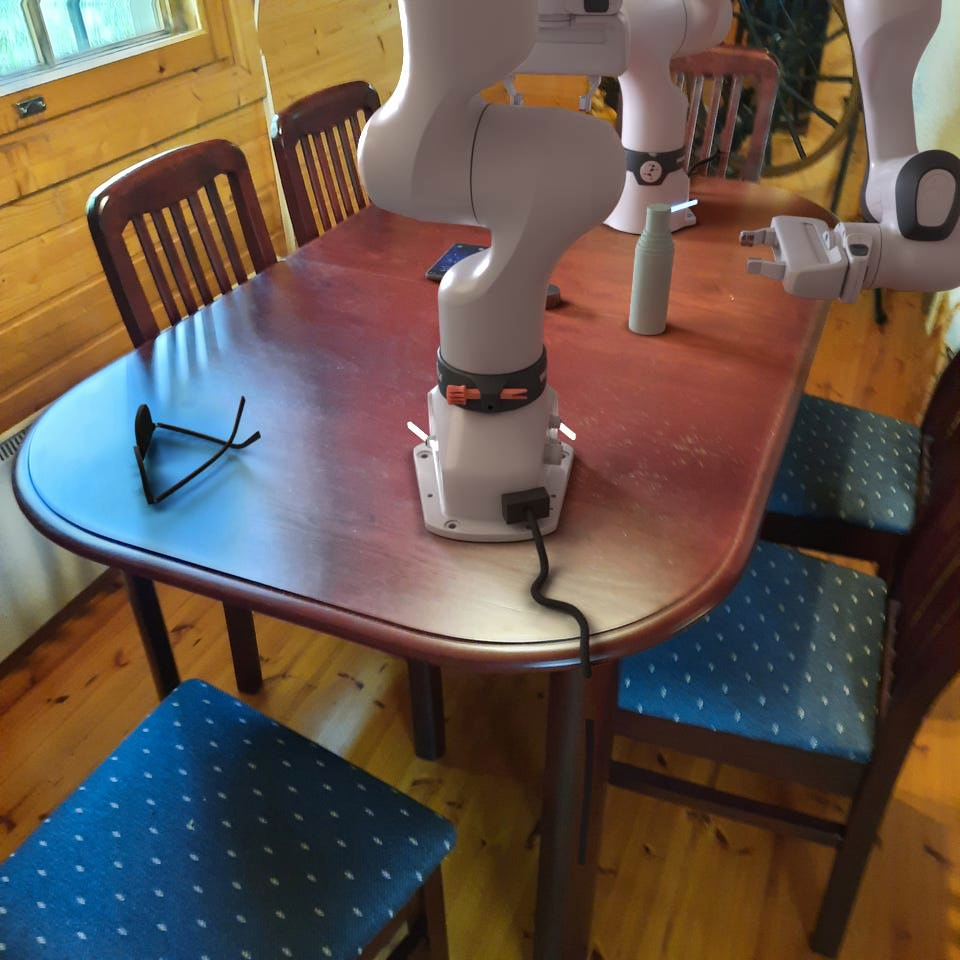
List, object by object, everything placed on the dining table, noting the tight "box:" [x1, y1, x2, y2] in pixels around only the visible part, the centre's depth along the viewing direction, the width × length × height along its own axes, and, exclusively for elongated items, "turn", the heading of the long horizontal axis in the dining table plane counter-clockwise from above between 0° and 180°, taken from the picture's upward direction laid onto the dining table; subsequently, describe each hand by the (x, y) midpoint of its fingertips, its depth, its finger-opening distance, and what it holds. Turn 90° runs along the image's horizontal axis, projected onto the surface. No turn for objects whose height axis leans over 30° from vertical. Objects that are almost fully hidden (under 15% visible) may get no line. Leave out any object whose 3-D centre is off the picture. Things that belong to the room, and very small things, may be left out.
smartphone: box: [424, 242, 491, 282], centre depth 146 cm, size 7×1×15 cm
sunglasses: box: [132, 395, 262, 506], centre depth 100 cm, size 17×14×5 cm
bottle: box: [628, 203, 675, 336], centre depth 121 cm, size 5×5×18 cm
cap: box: [545, 283, 561, 310], centre depth 134 cm, size 4×4×2 cm
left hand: (550, 109), depth 117 cm, fingers open, 8 cm apart
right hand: (743, 251), depth 118 cm, fingers open, 8 cm apart
